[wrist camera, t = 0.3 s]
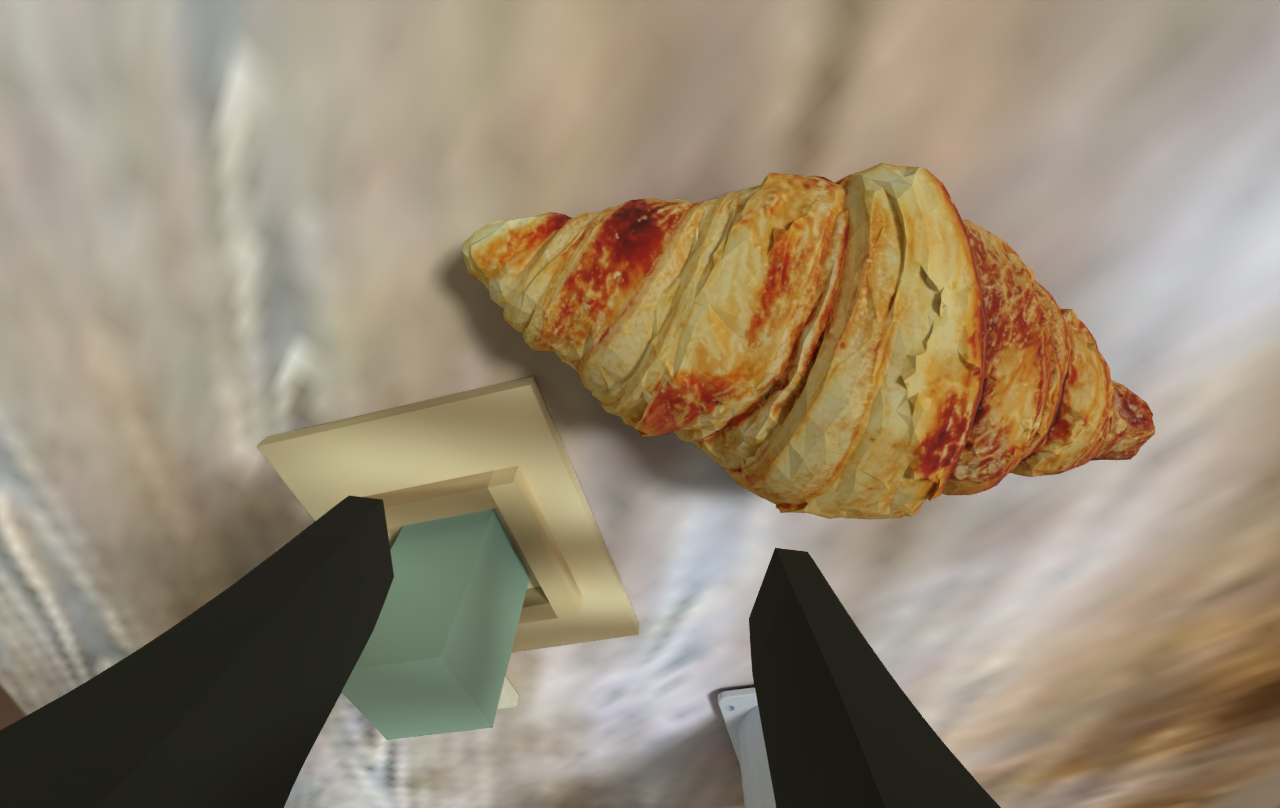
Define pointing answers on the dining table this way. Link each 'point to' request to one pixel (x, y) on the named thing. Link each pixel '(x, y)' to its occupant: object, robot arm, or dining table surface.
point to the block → (442, 629)
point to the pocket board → (474, 495)
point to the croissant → (818, 339)
